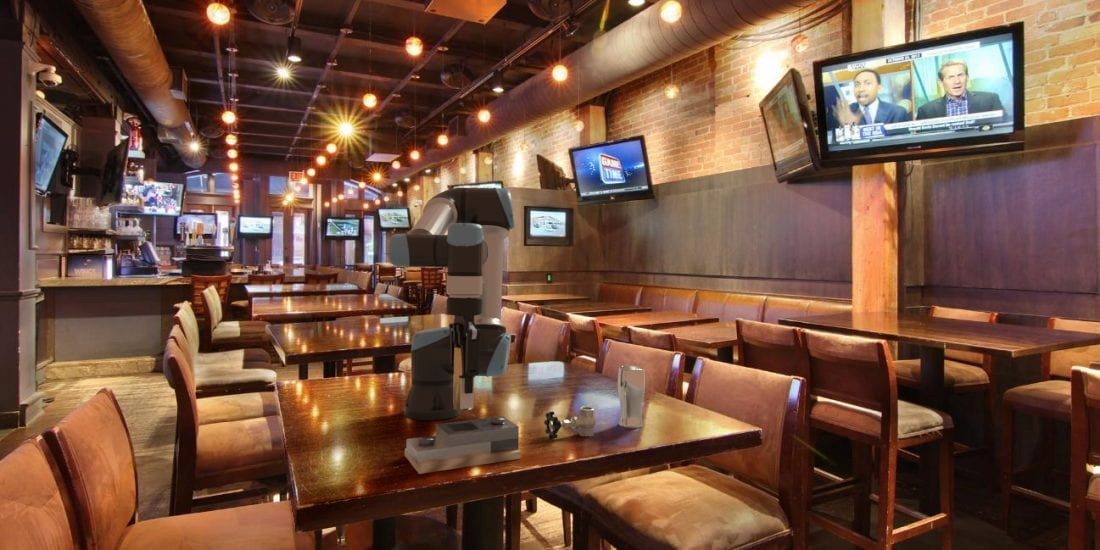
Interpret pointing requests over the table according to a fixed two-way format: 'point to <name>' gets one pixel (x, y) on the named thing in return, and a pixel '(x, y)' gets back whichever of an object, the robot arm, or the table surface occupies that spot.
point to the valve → (572, 423)
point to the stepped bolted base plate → (465, 440)
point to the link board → (463, 461)
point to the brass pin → (457, 378)
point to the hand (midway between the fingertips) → (463, 405)
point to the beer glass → (631, 395)
